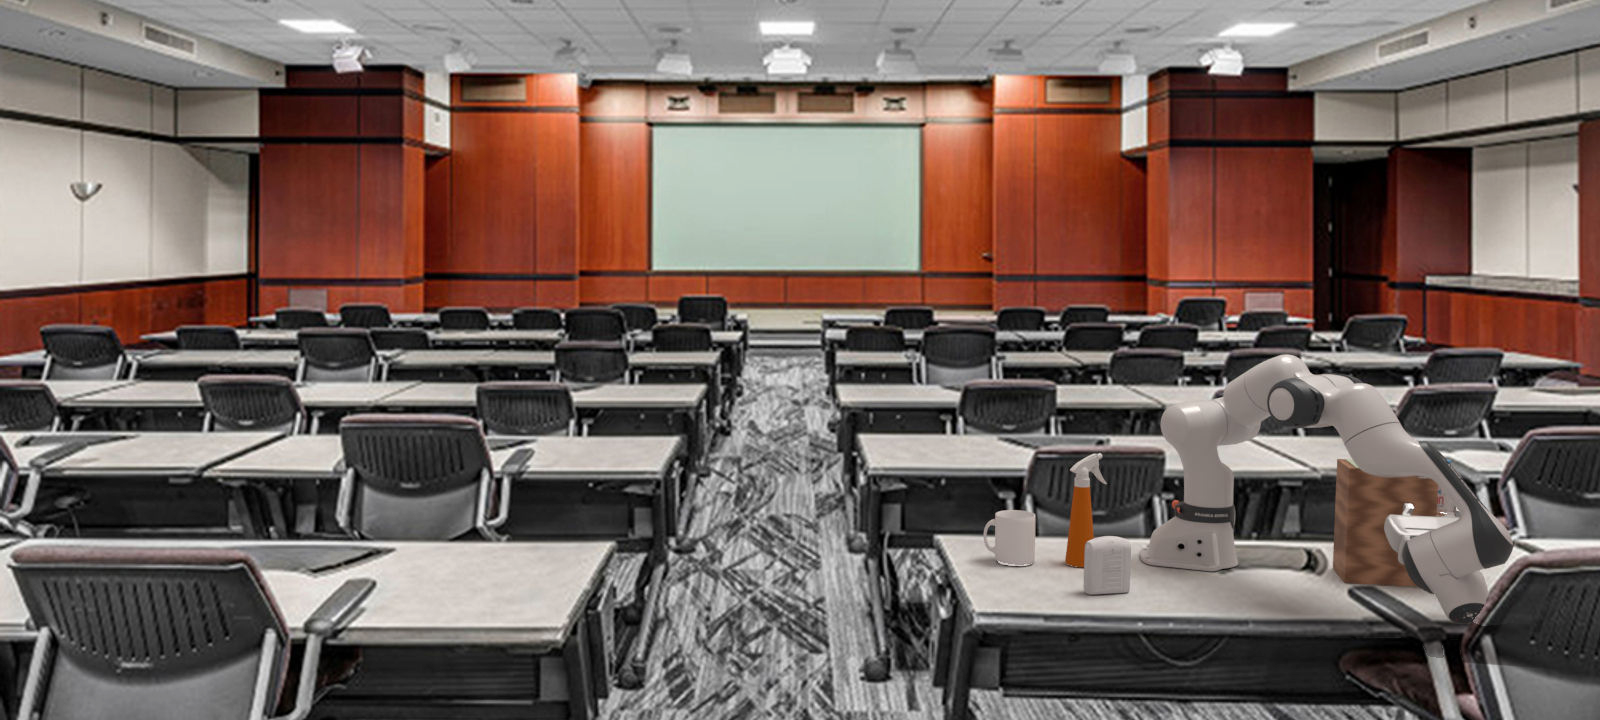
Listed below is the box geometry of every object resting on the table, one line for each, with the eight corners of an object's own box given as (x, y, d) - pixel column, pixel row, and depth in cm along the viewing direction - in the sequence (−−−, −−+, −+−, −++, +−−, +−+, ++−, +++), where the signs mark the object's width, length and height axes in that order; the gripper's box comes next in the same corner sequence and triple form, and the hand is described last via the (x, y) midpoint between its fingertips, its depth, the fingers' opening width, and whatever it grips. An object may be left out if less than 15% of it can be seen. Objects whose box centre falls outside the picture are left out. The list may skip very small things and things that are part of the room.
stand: (1344, 582, 255) (1349, 468, 253) (1332, 568, 267) (1337, 458, 265) (1433, 588, 251) (1438, 471, 249) (1417, 573, 263) (1422, 461, 260)
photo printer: (1123, 587, 252) (1124, 532, 251) (1133, 593, 248) (1134, 537, 247) (1080, 591, 250) (1081, 535, 249) (1089, 596, 246) (1090, 540, 245)
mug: (1037, 568, 268) (1038, 519, 267) (985, 567, 269) (986, 518, 268) (1031, 557, 278) (1032, 510, 277) (982, 556, 278) (982, 509, 277)
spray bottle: (1114, 564, 271) (1116, 454, 269) (1078, 569, 267) (1080, 458, 264) (1094, 557, 278) (1096, 450, 275) (1058, 562, 273) (1060, 453, 270)
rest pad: (1356, 468, 253) (1356, 467, 253) (1345, 459, 263) (1345, 459, 263) (1391, 469, 251) (1391, 468, 251) (1378, 461, 262) (1378, 460, 262)
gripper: (1511, 546, 221) (1491, 498, 232) (1396, 540, 226) (1382, 493, 237) (1503, 569, 225) (1484, 520, 236) (1390, 562, 229) (1376, 515, 240)
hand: (1432, 506), depth 236 cm, fingers open, 8 cm apart
